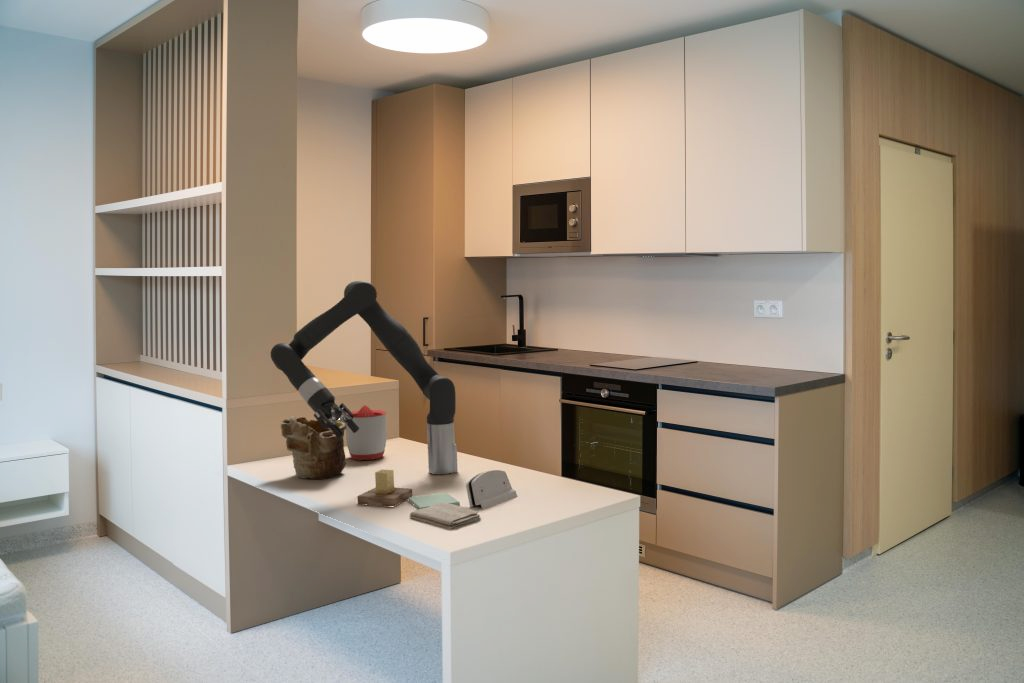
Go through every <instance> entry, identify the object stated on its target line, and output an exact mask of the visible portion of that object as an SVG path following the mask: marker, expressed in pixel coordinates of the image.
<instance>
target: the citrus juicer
mask: <svg viewBox="0 0 1024 683" xmlns="http://www.w3.org/2000/svg"><path fill="white" fill-rule="evenodd" d="M351 412H352V413H353V415H354V418H353V419H352V420H353V421H354V422H355V424H356V425H357V426H358V427H359V430H358V431H357V432H356V433H353V431H352V430H351V429H350V428H349V427H348V426H347V424H346V423H345V424H346V428H345V441H346V442H345V443H346V446H347V449H348V453H349V456H350V457H351V459H352V460H355V461H369V460H370V461H371V460H373V459H376V460H378V459H380V458H382V457H383V456H384V454H385V449H386V445H387V434H388V433H387V416H386V415H387V412H386V410H380V409H371V408H370V407H369V406H368V405H366V404H365V405H362V407H361V408H360V409H359V410H355V411H354V410H353V411H351ZM347 415H349V414H348V413H347ZM349 416H350V415H349ZM344 419H345V418H344ZM345 420H346V419H345Z"/></svg>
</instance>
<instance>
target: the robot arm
mask: <svg viewBox="0 0 1024 683" xmlns="http://www.w3.org/2000/svg"><path fill="white" fill-rule="evenodd" d="M377 295H378V294H377V289H376V287H375V286H374V285H373V284H372V283H370V282H368V281H365V280H356V281H351V282H350V283H348V284H347V285H346V286H345V288H344V290H343V297H342V299H341V300H339V301H338V302H337V303H336V304H335V305H333V306H332V307H331V308H329V309H327V310H326V311H324V312H323V313H321V314H319V315H318V316H316V317H314V318H313V319H312V320H310V321H308V322H307V324H305V325H304V326H303V327H302V328H300V329H299V330H298V331H297V332H295V334H294V335H293V338H292V340H291V342H290V343H289V344H286V343H282V342H281V343H277V344H275V345H273V347H272V348H271V350H270V358H271V361H272V363H273V364H274V366H275V367H276V369H277V370H280V371H282V373H283V374H284V375H285V376H286V377H287V379H288V381H289V382H290V384H291V385H292V387H294V389H296V391H297V392H298V394H299V395H300V396H301V398H302V399H303V400H304V402H305V403H306V404H307V405H308V406H309V407H310V408H311V409H312V411H313V412H314V414H313V417H314V418H315V419H316V420H318V422H319V423H320V424H321V425H322V427H323V428H324V429H327V428H328V429H330V430H332V431H333V432H334V433H335V435H336V436H337V437H338V438H341V437H342V436H343V434H344V435H345V431H344V432H343V431H342V430H341V429H340V427H339V426H338V425H337V424H336V423H335V421H339V422H343V423H346V424H347V426H348V427H349V428H350V429H351V430H352V431H353V433H356V432H357V431H358V430H359V427H358V426H357V425H356V424H355V422H354V421H353V420H352V419H353V418H354V415H353V413H352V412H353V411H351V410H350V409H349V408H348V407H347V406H346V405H345V404H344V403H340V404H339V405H338V404H337V403H335V402H336V401H335V400H336V396H334V395H333V394H332V392H331V391H330V390H329V389H328V388H327V386H326V385H325V384H324V383H323V382H322V381H321V380H320V379H319V378H318V377H317V376H316V375H315V374H314V372H312V371H311V369H309V368H308V367H307V366H306V364H305V363H304V362H303V359H304V358H305V356H306V355H307V354H308V353H309V352H310V351H311V350H312V349H313V348H315V347H316V346H317V345H318V344H320V343H321V342H322V341H324V340H325V339H326V338H327V337H329V335H330V334H332V333H333V332H334V331H335V330H336V329H337V328H339V327H340V326H342V325H343V324H344V323H345V322H347V321H349V320H350V319H351V318H353V317H354V316H356V315H357V316H359V317H360V318H361V319H362V320H363V321H364V322H365V323H366V324H367V325H368V326H369V327H370V330H372V332H373V334H374V335H375V336H376V337H377V339H378V340H379V341H380V343H381V344H382V345H383V347H384V348H385V349H386V350H387V352H389V354H390V355H391V356H392V357H393V359H395V360H396V362H397V363H398V364H399V365H400V366H401V367H402V368H403V369H404V370H405V371H406V372H407V373H408V374H409V375H410V376H411V377H412V379H413V381H414V382H415V383H416V384H417V386H418V388H419V389H420V391H421V392H422V393H423V396H425V398H426V399H427V400H429V413H428V414H427V415H426V432H427V433H426V434H427V456H428V458H427V460H428V461H427V462H428V464H427V465H428V473H429V474H430V473H432V474H431V475H435V474H444V475H450V474H449V473H451V474H454V473H457V472H456V471H458V446H457V445H458V444H456V443H455V441H456V440H455V415H456V409H457V408H456V399H457V398H456V397H457V396H456V395H457V394H456V387H455V383H454V382H453V381H452V380H451V379H450V378H448V377H446V376H443V375H441V374H439V373H438V372H437V371H436V370H435V369H434V368H433V367H432V365H430V364H429V362H428V361H427V359H426V358H425V356H424V354H423V352H422V349H421V348H420V346H419V344H418V342H417V341H416V339H415V338H414V337H413V336H412V335H411V333H410V332H409V331H408V329H406V328H405V326H403V324H401V322H399V321H398V320H397V319H396V318H394V317H393V316H392V315H391V314H389V313H388V312H387V311H386V310H385V309H384V308H383V307H382V306H381V305H380V303H379V302H378V300H377V297H378V296H377ZM347 413H348V414H349V415H350V416H349V415H347ZM345 419H346V420H345ZM324 420H325V423H326V424H325V423H324V422H323V421H324ZM335 424H336V425H335ZM343 437H344V436H343ZM453 472H454V473H453ZM458 472H459V471H458Z"/></svg>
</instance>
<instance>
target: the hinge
mask: <svg viewBox="0 0 1024 683" xmlns="http://www.w3.org/2000/svg"><path fill="white" fill-rule="evenodd" d="M511 484H512V483H511V482H510V480H509V478H508V475H507V472H506V471H504V470H500V469H494V470H493V469H492V470H487V471H484V472H483V471H482V472H480V473H478V474H476V475H475V476H473V477H472V478H471V479H469V480H468V481H467V482H466V483H465V488H466V494H467V498H468V503H469V507H471V508H472V507H475V506H479V505H480V506H481V509H482V510H485V509H488V508H489V507H490V508H491V507H492V506H496V505H497V504H498V505H499V504H501V503H503V502H507V501H508V500H512V499H515V498H517V497H518V494H517V491H516V490H515V489H514V488H513V487H512V485H511Z"/></svg>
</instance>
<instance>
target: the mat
mask: <svg viewBox="0 0 1024 683" xmlns="http://www.w3.org/2000/svg"><path fill="white" fill-rule="evenodd" d="M408 500H409V501H410V502H411V503H410V502H409V501H408ZM408 500H407V501H408V502H409V503H410V504H412V505H413V504H414V505H415V506H416V507H417V508H416V507H415V506H414V505H413V506H414V507H415V508H416V509H418V508H419V509H423V508H427V507H429V506H431V505H434V504H437V503H441V502H444V503H448V504H454V505H457V506H461V504H460V500H458V499H456V498H455V497H454V496H452V495H451V494H449V493H447V492H439V493H434V494H432V493H431V494H427V495H424V494H423V495H417V496H413V497H410V498H408ZM419 509H418V510H419Z"/></svg>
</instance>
